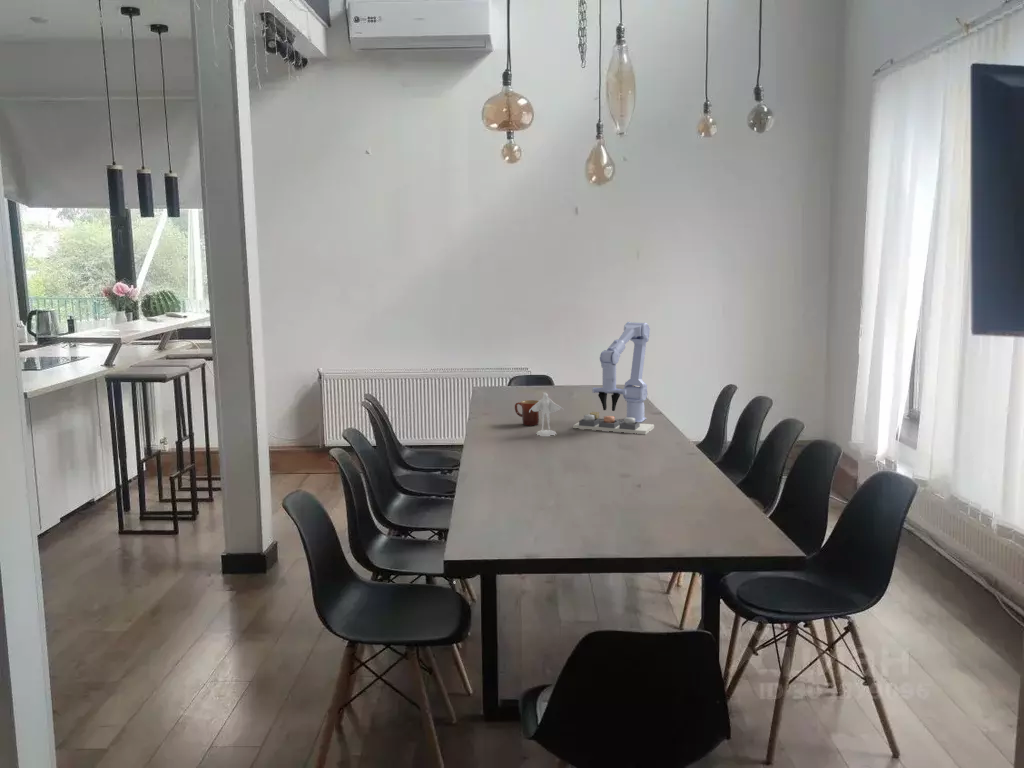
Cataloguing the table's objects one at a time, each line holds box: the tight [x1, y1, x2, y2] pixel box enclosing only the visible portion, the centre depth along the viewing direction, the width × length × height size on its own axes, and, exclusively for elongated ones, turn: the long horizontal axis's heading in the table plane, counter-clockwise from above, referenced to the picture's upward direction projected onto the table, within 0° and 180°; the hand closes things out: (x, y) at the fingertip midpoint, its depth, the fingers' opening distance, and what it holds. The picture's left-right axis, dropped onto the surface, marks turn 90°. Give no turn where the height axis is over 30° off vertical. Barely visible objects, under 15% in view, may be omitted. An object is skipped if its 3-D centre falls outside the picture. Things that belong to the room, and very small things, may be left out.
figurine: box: [529, 391, 565, 437], centre depth 338 cm, size 14×11×18 cm
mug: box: [514, 399, 540, 427], centre depth 357 cm, size 12×9×10 cm
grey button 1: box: [583, 413, 595, 422], centre depth 348 cm, size 5×5×2 cm
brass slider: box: [589, 411, 600, 419], centre depth 354 cm, size 4×3×4 cm
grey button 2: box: [623, 416, 635, 425], centre depth 340 cm, size 5×5×2 cm
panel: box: [572, 417, 655, 435], centre depth 347 cm, size 14×32×4 cm, turn 65°
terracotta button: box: [603, 415, 616, 423], centre depth 344 cm, size 5×5×2 cm
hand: (609, 410), depth 344 cm, fingers open, 3 cm apart
